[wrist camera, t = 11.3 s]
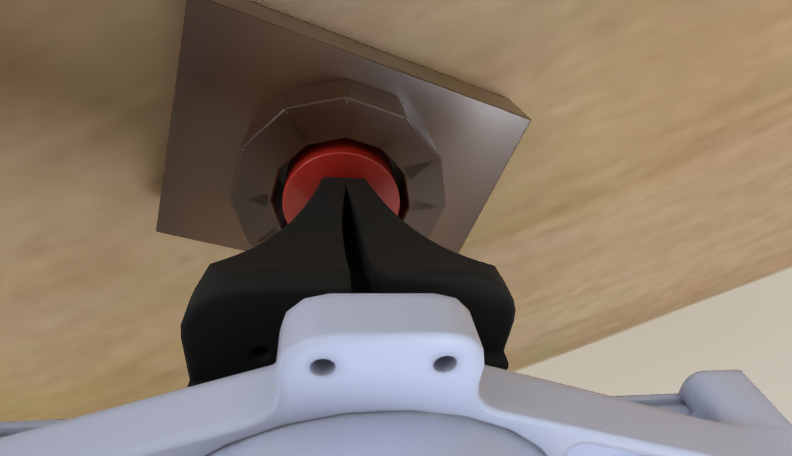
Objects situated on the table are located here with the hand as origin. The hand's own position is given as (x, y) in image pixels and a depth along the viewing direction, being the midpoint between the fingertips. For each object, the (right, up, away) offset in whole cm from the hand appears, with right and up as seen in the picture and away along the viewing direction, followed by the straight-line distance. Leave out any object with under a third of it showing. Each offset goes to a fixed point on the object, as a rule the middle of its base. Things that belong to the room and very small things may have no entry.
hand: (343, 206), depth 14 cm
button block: (-1, +2, +3) cm, 4 cm away
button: (0, +1, +1) cm, 2 cm away
